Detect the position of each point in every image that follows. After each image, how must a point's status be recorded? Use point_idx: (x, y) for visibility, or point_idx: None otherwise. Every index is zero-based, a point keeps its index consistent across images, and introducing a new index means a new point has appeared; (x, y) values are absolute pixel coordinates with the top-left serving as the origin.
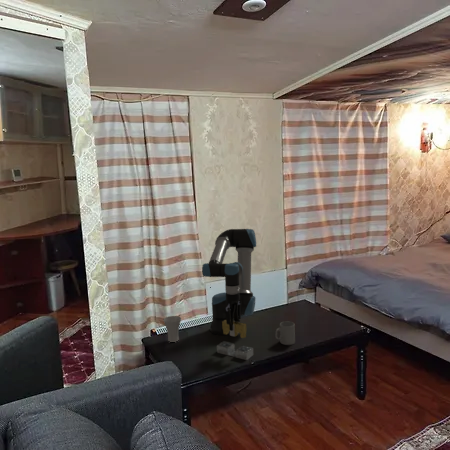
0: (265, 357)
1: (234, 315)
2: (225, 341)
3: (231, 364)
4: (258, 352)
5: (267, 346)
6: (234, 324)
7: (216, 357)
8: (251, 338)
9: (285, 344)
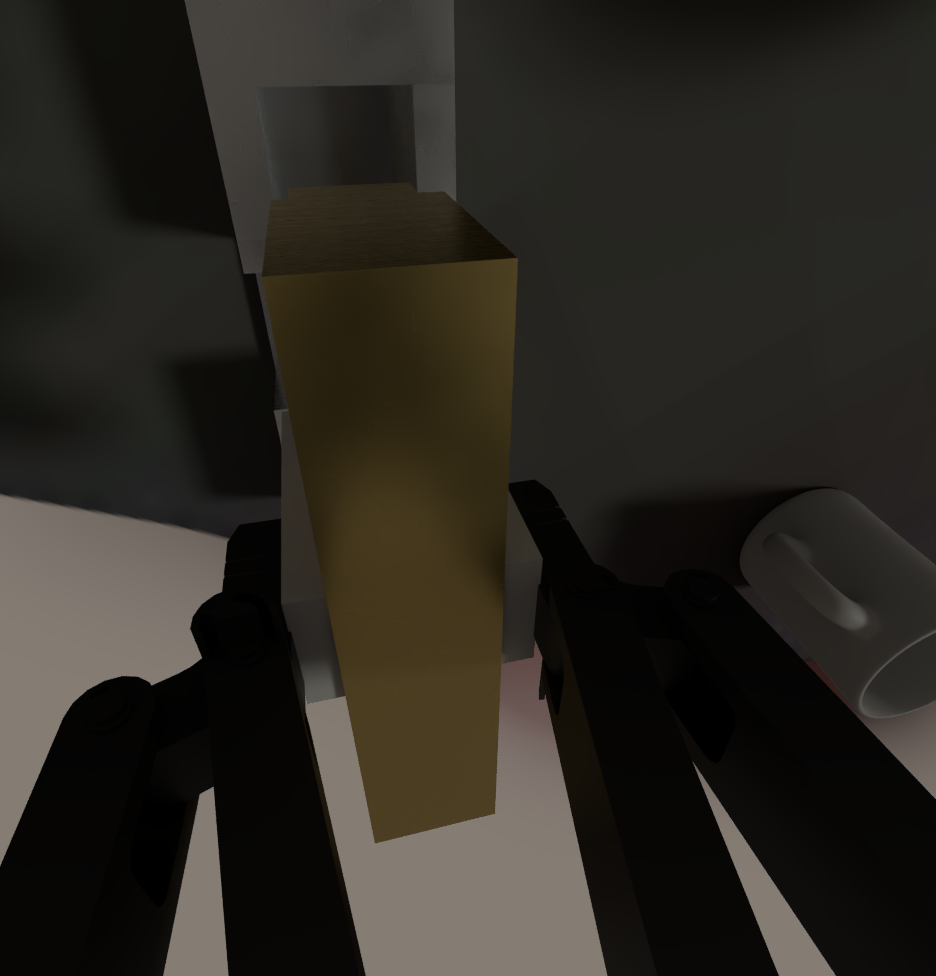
0: None
1: (589, 787)
2: (451, 47)
3: (96, 436)
4: (519, 479)
5: (672, 468)
6: (347, 693)
7: (61, 121)
8: (837, 208)
9: (741, 558)
